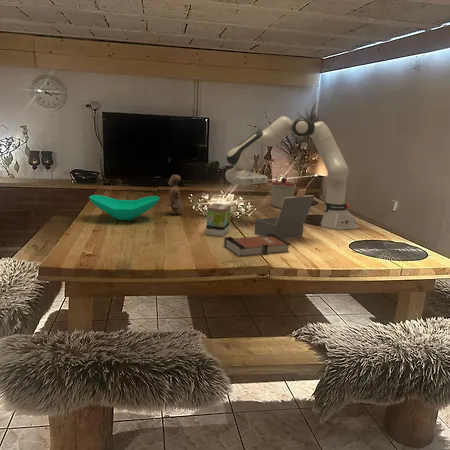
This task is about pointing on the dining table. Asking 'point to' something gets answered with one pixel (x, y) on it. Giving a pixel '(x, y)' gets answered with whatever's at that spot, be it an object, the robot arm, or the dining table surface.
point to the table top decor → (124, 206)
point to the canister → (281, 191)
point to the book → (256, 245)
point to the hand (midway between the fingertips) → (260, 181)
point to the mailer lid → (295, 209)
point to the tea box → (218, 219)
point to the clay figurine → (174, 194)
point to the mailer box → (277, 228)
